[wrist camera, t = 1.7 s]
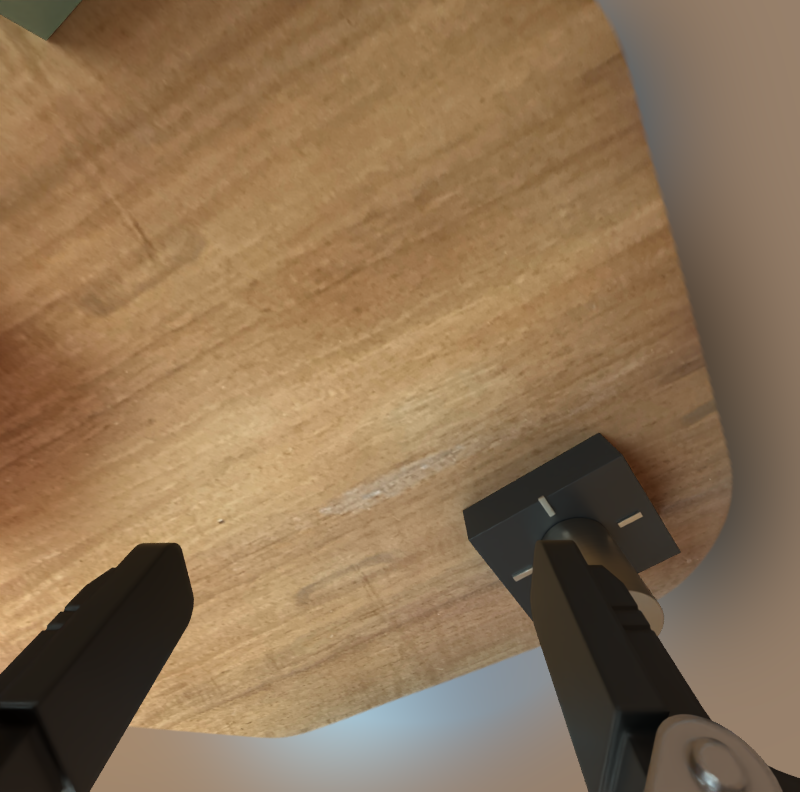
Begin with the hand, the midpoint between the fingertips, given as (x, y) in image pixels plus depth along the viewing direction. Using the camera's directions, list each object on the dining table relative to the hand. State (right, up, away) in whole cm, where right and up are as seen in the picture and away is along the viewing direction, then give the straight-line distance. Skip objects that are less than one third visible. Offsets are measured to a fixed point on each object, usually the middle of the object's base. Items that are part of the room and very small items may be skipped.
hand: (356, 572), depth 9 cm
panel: (+12, -4, +18) cm, 22 cm away
